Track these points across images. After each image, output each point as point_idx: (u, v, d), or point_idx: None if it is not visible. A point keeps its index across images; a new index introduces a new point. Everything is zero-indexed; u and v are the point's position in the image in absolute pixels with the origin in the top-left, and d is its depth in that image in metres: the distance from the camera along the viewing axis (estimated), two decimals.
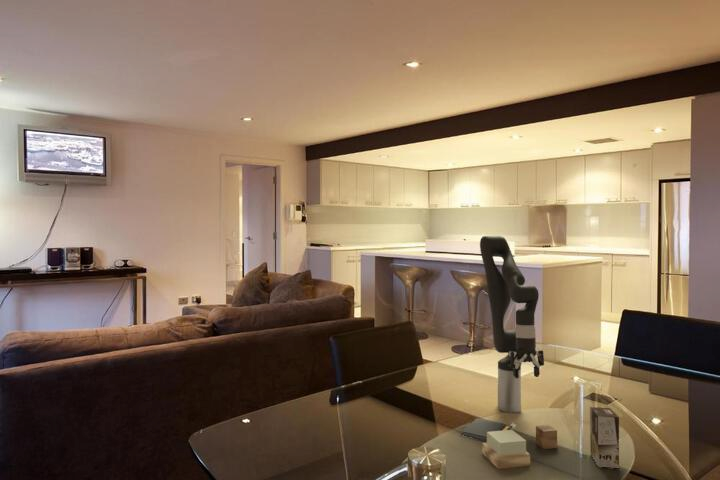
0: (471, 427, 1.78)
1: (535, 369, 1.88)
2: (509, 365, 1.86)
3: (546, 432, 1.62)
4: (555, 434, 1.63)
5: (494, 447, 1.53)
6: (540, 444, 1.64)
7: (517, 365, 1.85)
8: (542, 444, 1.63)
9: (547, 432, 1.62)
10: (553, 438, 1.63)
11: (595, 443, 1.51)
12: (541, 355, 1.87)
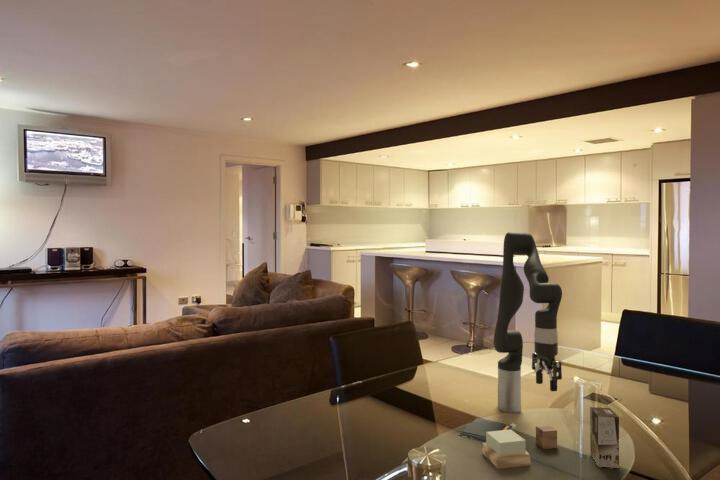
0: (471, 427, 1.78)
1: (540, 375, 1.69)
2: (558, 378, 1.58)
3: (546, 432, 1.62)
4: (555, 434, 1.63)
5: (494, 447, 1.52)
6: (540, 444, 1.64)
7: None
8: (542, 444, 1.63)
9: (547, 432, 1.62)
10: (553, 438, 1.63)
11: (595, 443, 1.51)
12: None
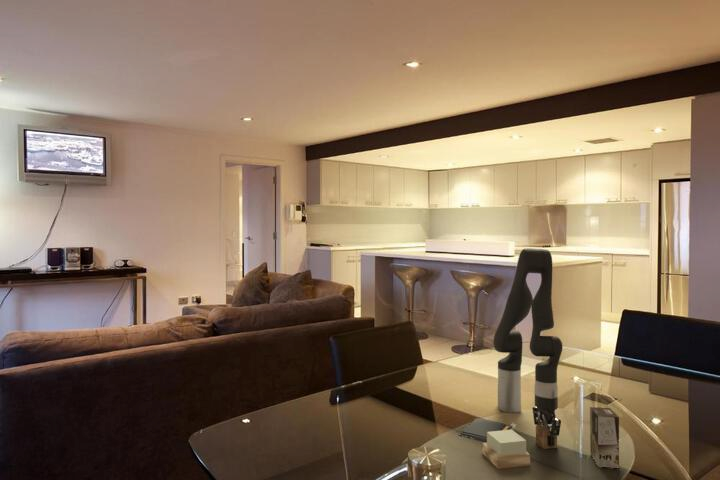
0: (471, 427, 1.78)
1: None
2: (555, 434, 1.59)
3: (546, 432, 1.62)
4: None
5: (494, 447, 1.52)
6: (540, 444, 1.64)
7: None
8: (542, 444, 1.63)
9: None
10: None
11: (595, 443, 1.51)
12: None
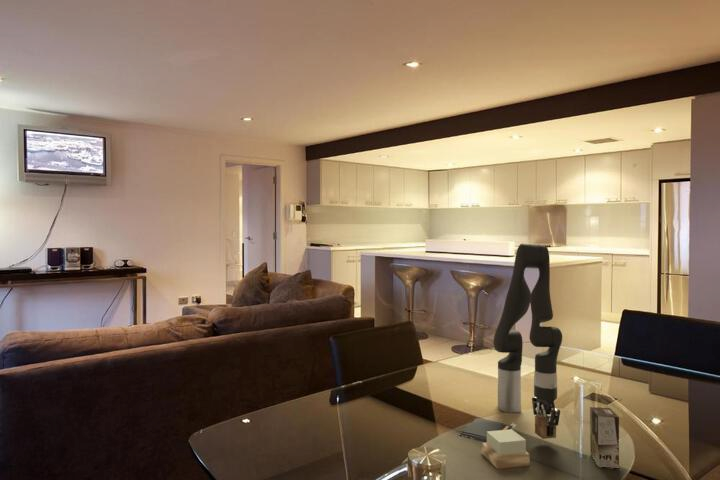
0: (471, 427, 1.78)
1: None
2: (554, 424, 1.60)
3: (545, 422, 1.62)
4: None
5: (494, 447, 1.53)
6: (539, 434, 1.64)
7: None
8: (541, 434, 1.63)
9: None
10: None
11: (595, 443, 1.51)
12: None
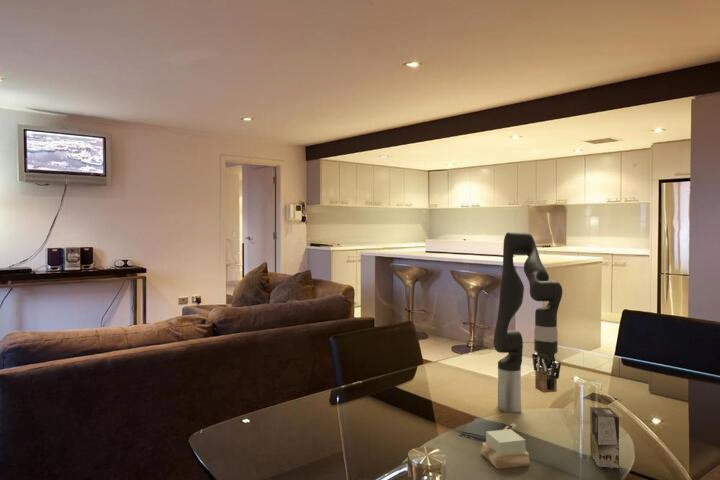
0: (471, 427, 1.78)
1: None
2: (555, 377, 1.59)
3: (546, 376, 1.62)
4: None
5: (494, 447, 1.53)
6: (540, 388, 1.64)
7: None
8: (542, 388, 1.63)
9: None
10: None
11: (595, 443, 1.51)
12: None
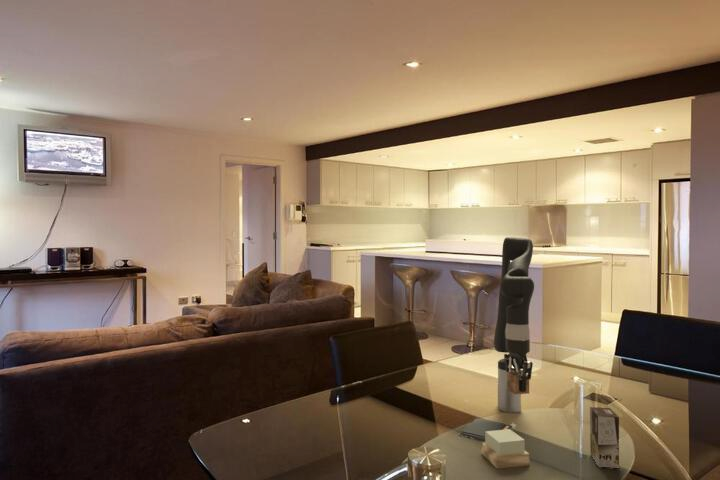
0: (471, 427, 1.78)
1: None
2: (527, 378, 1.51)
3: (518, 377, 1.54)
4: None
5: (493, 447, 1.53)
6: (511, 390, 1.56)
7: None
8: (513, 389, 1.54)
9: None
10: None
11: (595, 443, 1.51)
12: None
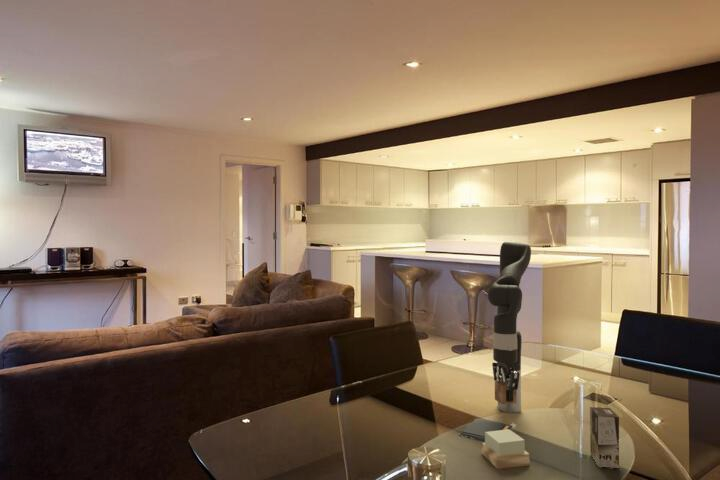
0: (471, 427, 1.78)
1: None
2: (514, 388, 1.49)
3: (505, 387, 1.52)
4: None
5: (493, 447, 1.52)
6: (499, 400, 1.54)
7: None
8: (500, 399, 1.52)
9: None
10: None
11: (595, 443, 1.51)
12: None
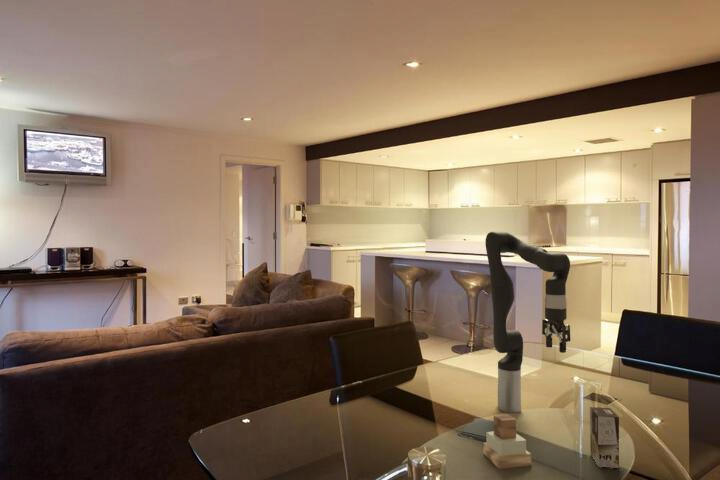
0: (470, 427, 1.78)
1: (549, 340, 1.82)
2: (567, 340, 1.71)
3: (505, 422, 1.52)
4: (514, 423, 1.53)
5: (495, 448, 1.52)
6: (498, 435, 1.53)
7: None
8: (500, 434, 1.52)
9: (506, 422, 1.52)
10: (512, 428, 1.52)
11: (595, 443, 1.51)
12: None
